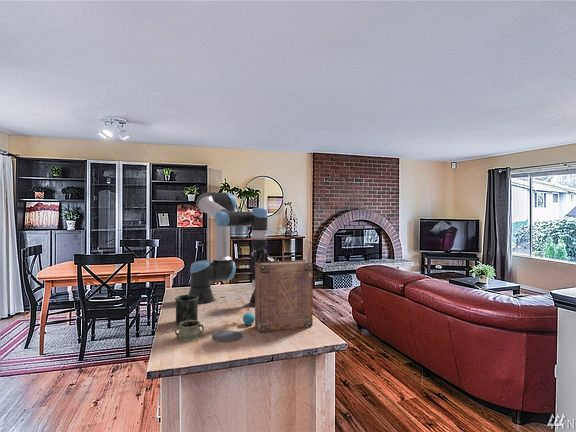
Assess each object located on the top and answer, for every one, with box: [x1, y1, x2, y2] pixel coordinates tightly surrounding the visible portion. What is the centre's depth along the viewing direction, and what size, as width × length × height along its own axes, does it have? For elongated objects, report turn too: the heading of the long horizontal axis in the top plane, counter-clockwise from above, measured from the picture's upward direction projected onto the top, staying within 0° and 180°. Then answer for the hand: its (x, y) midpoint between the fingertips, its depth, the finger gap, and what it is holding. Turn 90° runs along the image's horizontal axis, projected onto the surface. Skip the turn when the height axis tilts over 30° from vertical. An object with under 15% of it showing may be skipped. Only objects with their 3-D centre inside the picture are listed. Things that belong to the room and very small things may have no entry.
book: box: [254, 259, 314, 334], centre depth 158 cm, size 25×9×30 cm, turn 111°
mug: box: [174, 294, 199, 325], centre depth 161 cm, size 11×15×12 cm
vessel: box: [174, 320, 205, 342], centre depth 143 cm, size 12×9×6 cm
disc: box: [211, 330, 244, 343], centre depth 145 cm, size 13×13×1 cm
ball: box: [242, 312, 255, 326], centre depth 161 cm, size 6×6×6 cm
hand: (259, 284), depth 169 cm, fingers open, 7 cm apart
